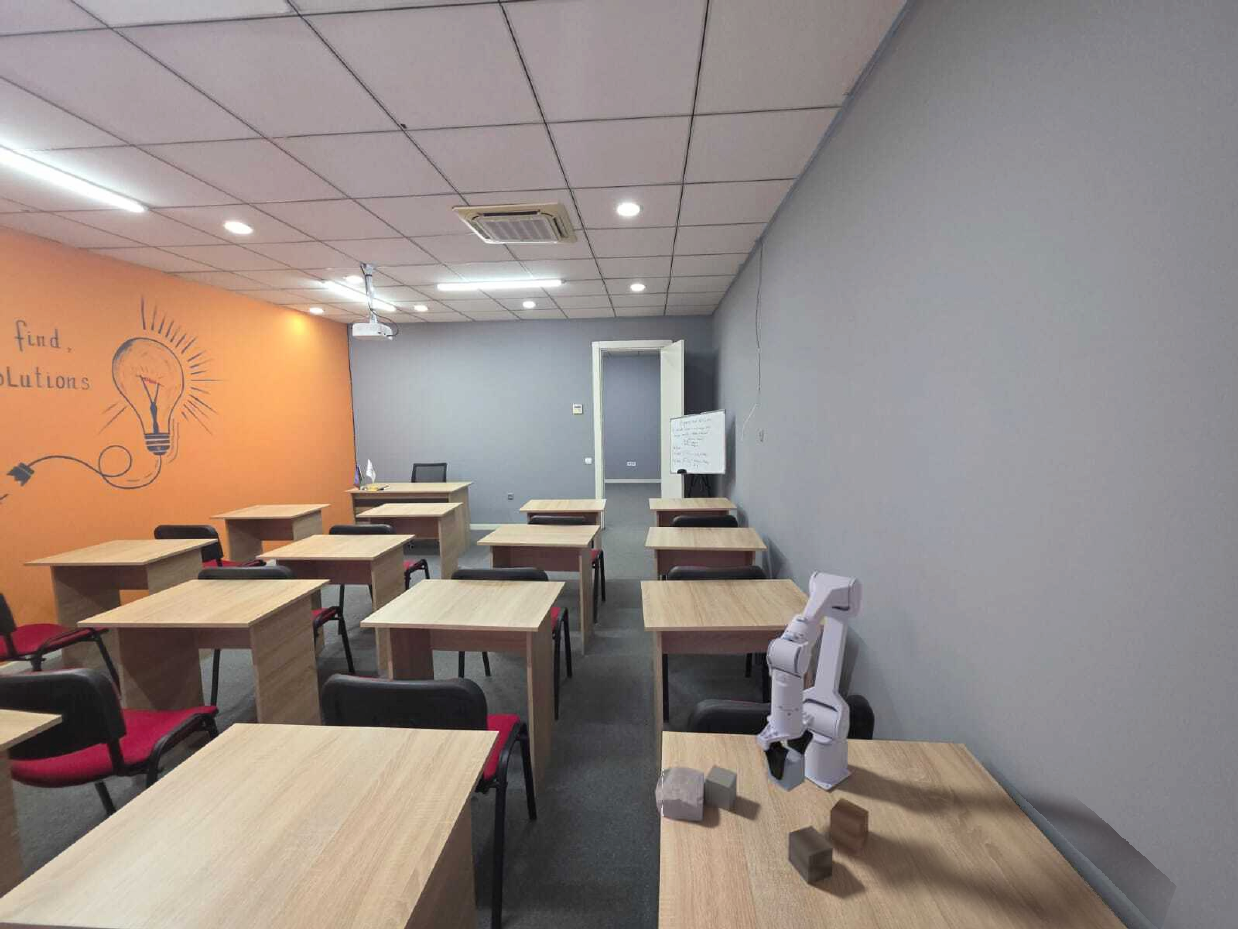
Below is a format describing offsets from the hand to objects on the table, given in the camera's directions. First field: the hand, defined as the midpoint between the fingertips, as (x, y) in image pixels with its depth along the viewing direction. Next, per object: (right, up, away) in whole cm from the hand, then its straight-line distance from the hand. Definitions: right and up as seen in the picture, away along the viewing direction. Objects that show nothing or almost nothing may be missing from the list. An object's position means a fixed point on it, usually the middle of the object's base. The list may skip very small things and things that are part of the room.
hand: (785, 771), depth 94 cm
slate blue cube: (0, -2, 0) cm, 2 cm away
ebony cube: (+1, -11, -10) cm, 14 cm away
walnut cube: (+11, -10, -3) cm, 15 cm away
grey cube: (-11, -10, +6) cm, 16 cm away
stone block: (-20, -10, +6) cm, 23 cm away
